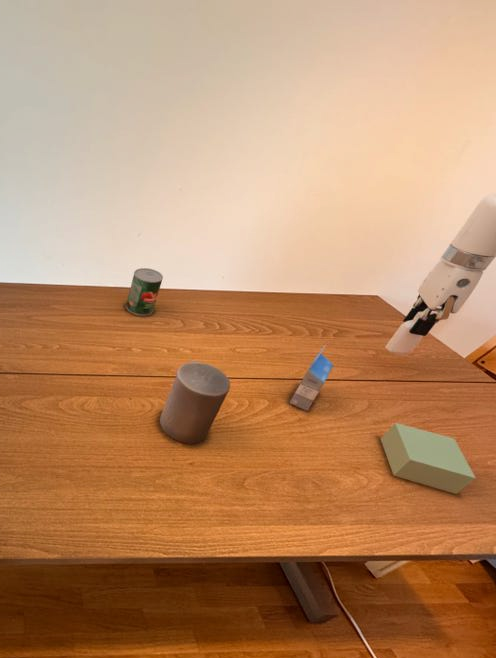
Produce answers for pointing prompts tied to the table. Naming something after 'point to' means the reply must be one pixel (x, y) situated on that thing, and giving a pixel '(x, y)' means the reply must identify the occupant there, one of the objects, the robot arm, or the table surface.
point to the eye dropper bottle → (405, 337)
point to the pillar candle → (194, 402)
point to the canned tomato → (144, 291)
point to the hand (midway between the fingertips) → (414, 328)
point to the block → (426, 458)
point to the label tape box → (312, 382)
